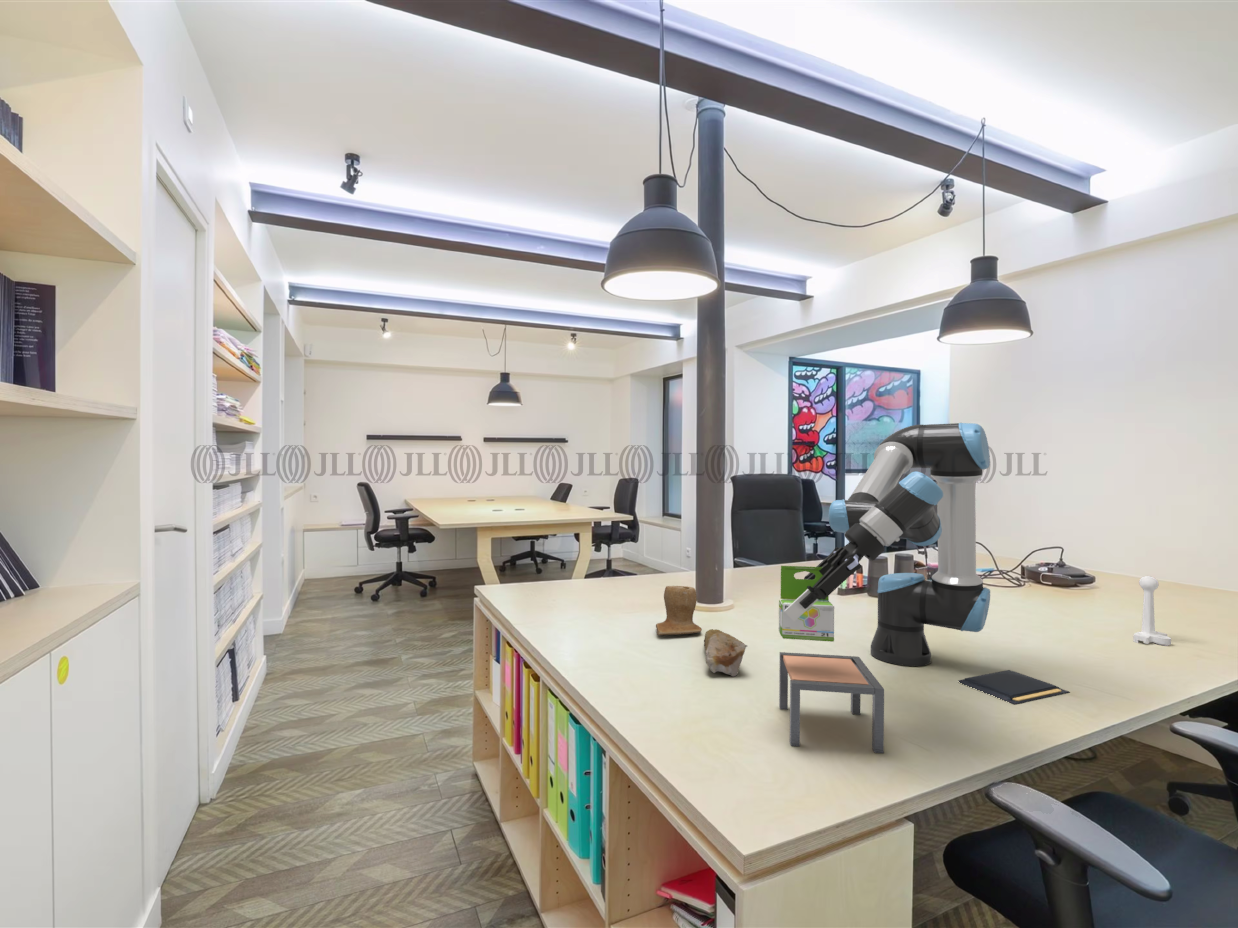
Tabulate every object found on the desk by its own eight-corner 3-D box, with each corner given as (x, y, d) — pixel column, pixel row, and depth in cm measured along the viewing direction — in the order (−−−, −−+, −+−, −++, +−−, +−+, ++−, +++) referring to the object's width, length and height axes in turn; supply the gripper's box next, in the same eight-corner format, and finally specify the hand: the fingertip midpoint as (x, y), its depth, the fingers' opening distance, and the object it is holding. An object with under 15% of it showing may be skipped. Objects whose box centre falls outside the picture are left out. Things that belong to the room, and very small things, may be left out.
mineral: (694, 615, 170) (727, 621, 170) (689, 646, 169) (722, 652, 169) (712, 636, 143) (751, 643, 143) (706, 673, 142) (745, 680, 143)
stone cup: (692, 626, 188) (692, 580, 188) (705, 636, 177) (706, 588, 177) (648, 628, 185) (648, 582, 185) (659, 639, 173) (659, 590, 173)
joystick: (1149, 636, 180) (1150, 573, 180) (1180, 643, 173) (1181, 578, 173) (1128, 640, 176) (1129, 575, 176) (1159, 648, 169) (1160, 580, 169)
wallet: (1010, 666, 149) (1073, 688, 135) (1010, 673, 149) (1073, 696, 135) (953, 675, 142) (1013, 699, 128) (953, 683, 142) (1013, 707, 128)
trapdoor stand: (858, 711, 124) (858, 656, 124) (883, 753, 106) (884, 688, 106) (779, 705, 127) (779, 651, 127) (790, 745, 109) (791, 682, 109)
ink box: (781, 638, 115) (781, 569, 115) (778, 631, 120) (778, 565, 120) (834, 641, 114) (835, 571, 114) (829, 633, 119) (829, 566, 119)
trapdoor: (850, 663, 122) (850, 658, 122) (868, 689, 109) (868, 683, 109) (783, 659, 125) (783, 655, 125) (792, 684, 111) (792, 679, 111)
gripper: (900, 555, 106) (807, 639, 108) (872, 542, 124) (793, 614, 126) (870, 526, 106) (779, 609, 109) (847, 517, 124) (769, 589, 127)
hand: (787, 612), depth 117 cm, fingers closed on ink box, 5 cm apart
